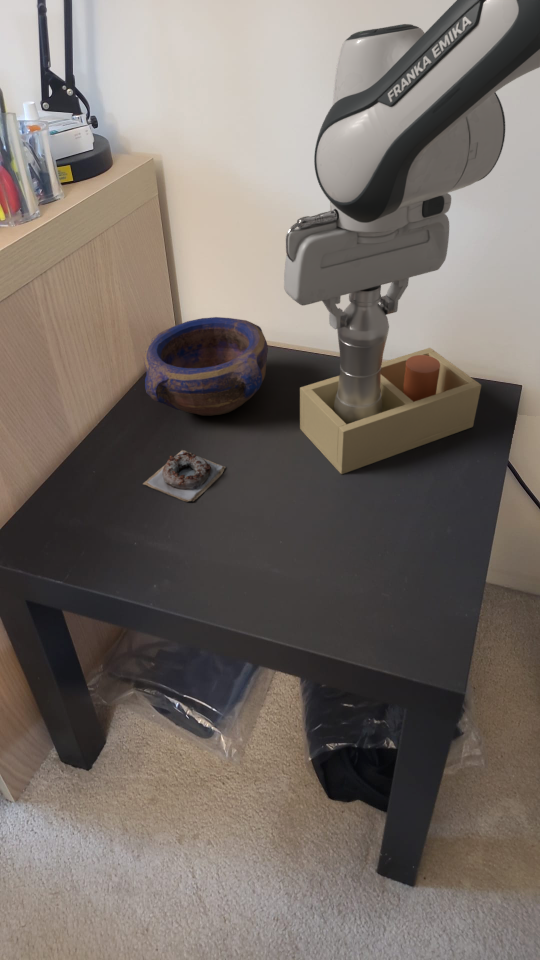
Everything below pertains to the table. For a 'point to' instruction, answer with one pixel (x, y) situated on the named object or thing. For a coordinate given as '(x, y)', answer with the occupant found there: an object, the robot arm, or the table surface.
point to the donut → (185, 476)
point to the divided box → (389, 415)
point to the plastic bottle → (361, 356)
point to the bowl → (206, 365)
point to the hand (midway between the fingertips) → (363, 318)
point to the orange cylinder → (421, 377)
